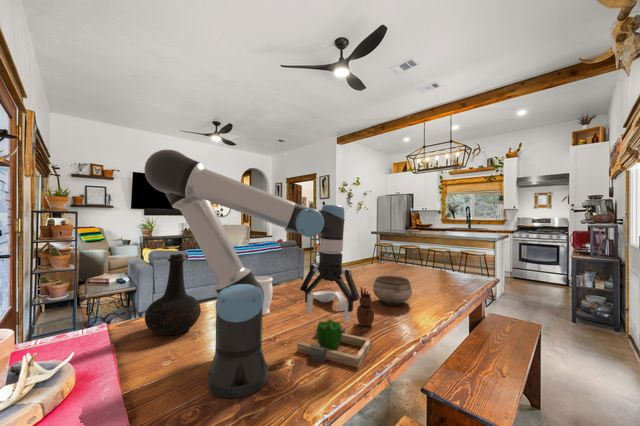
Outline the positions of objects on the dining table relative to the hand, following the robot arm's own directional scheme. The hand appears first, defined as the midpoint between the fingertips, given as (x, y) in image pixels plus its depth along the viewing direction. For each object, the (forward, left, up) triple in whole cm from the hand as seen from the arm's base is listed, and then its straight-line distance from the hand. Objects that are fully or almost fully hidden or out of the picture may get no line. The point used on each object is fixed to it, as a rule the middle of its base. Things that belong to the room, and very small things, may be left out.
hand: (327, 316), depth 90 cm
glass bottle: (-15, +55, -10) cm, 58 cm away
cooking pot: (+57, -10, -10) cm, 59 cm away
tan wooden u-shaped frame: (0, -3, -10) cm, 10 cm away
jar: (+15, +39, -10) cm, 44 cm away
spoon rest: (+42, +17, -11) cm, 46 cm away
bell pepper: (0, -1, -10) cm, 10 cm away
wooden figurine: (+24, -6, -10) cm, 27 cm away
